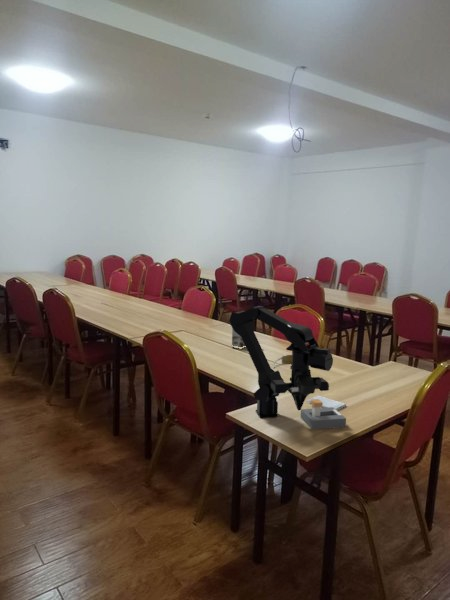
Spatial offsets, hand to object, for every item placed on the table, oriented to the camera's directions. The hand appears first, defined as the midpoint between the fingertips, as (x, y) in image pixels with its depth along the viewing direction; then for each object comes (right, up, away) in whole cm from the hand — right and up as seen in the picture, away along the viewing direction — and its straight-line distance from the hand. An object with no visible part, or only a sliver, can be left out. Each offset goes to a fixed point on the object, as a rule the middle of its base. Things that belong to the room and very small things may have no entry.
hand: (298, 409), depth 146 cm
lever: (+6, -4, +2) cm, 7 cm away
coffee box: (-16, +9, +107) cm, 108 cm away
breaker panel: (+9, -5, +2) cm, 10 cm away
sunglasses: (+7, +3, +68) cm, 69 cm away
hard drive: (+14, -4, +19) cm, 24 cm away
